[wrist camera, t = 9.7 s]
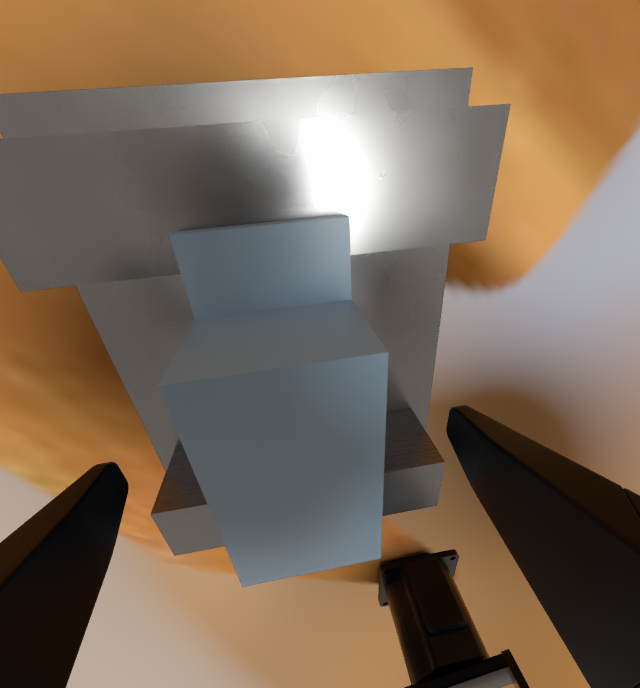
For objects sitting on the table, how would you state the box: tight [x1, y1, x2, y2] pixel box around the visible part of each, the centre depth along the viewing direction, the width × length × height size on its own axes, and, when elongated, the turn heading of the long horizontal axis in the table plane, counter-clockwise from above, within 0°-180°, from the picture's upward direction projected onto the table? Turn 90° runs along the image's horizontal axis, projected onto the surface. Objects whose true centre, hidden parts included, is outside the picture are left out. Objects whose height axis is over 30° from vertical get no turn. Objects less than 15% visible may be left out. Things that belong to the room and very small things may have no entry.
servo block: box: [157, 215, 388, 587], centre depth 10 cm, size 11×4×7 cm, turn 4°
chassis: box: [0, 67, 510, 556], centre depth 12 cm, size 18×14×4 cm
